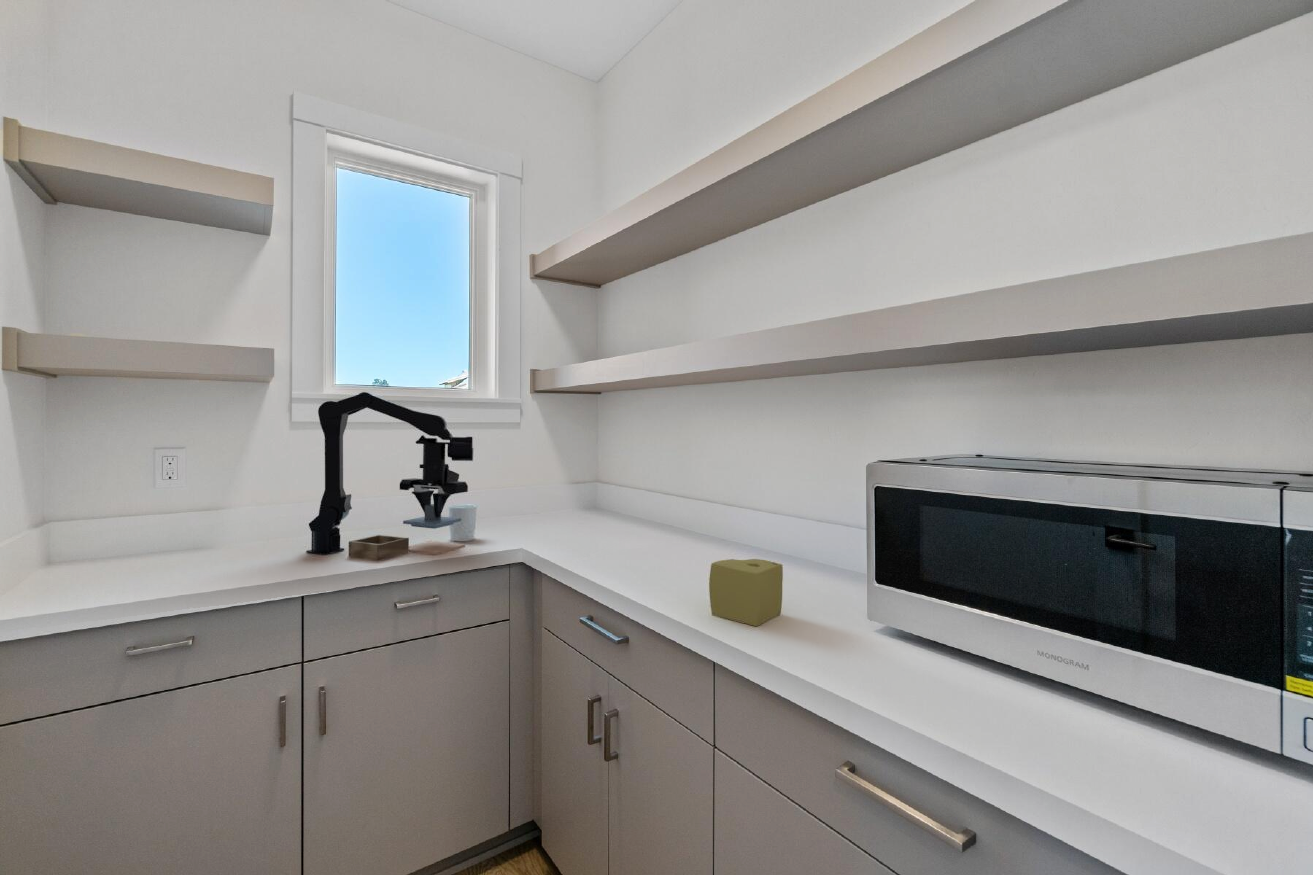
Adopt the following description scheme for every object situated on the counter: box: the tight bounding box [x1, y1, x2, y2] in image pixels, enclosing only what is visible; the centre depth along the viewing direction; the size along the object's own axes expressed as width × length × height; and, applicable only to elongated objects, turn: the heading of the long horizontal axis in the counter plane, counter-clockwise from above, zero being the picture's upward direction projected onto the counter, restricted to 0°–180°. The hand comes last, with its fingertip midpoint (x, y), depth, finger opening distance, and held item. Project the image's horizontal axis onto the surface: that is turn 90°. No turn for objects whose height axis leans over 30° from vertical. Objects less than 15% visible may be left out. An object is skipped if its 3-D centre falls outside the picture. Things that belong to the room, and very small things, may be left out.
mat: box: [409, 540, 466, 556], centre depth 161 cm, size 12×12×1 cm
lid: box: [402, 503, 461, 529], centre depth 160 cm, size 11×11×6 cm
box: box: [348, 534, 410, 562], centre depth 152 cm, size 10×10×4 cm
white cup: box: [448, 503, 478, 542], centre depth 174 cm, size 8×8×10 cm
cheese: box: [708, 558, 784, 627], centre depth 110 cm, size 10×11×10 cm
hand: (432, 517), depth 161 cm, fingers closed on lid, 3 cm apart
